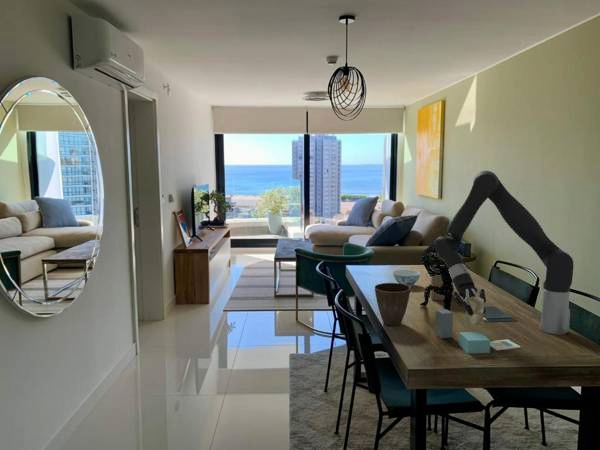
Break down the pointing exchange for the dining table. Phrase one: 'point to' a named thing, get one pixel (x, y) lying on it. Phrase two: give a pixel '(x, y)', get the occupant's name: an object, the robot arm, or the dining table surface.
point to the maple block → (475, 311)
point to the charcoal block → (444, 323)
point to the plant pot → (392, 302)
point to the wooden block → (438, 282)
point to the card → (503, 345)
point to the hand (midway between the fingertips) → (477, 314)
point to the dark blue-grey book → (496, 315)
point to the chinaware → (406, 277)
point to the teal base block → (474, 342)
